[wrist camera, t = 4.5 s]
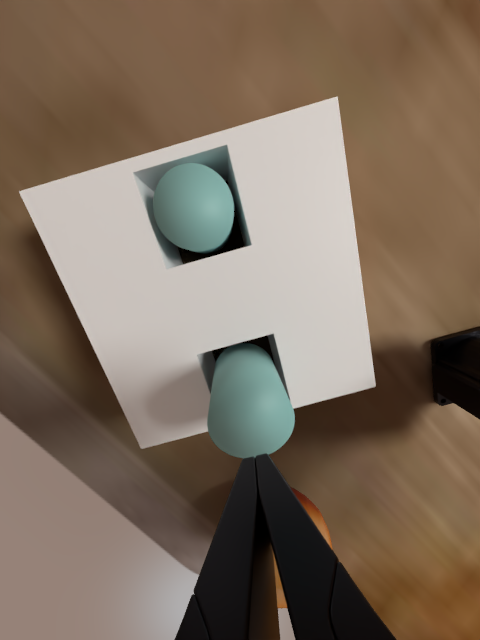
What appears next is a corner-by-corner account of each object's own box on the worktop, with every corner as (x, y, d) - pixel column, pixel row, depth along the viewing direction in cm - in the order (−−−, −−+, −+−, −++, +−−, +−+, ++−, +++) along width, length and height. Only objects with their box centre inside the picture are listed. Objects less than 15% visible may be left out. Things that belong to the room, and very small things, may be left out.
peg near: (266, 336, 15) (284, 372, 10) (279, 389, 16) (302, 446, 11) (206, 352, 15) (195, 396, 10) (223, 404, 16) (221, 467, 11)
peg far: (223, 185, 16) (221, 152, 11) (239, 245, 17) (243, 238, 12) (167, 202, 16) (140, 176, 11) (186, 260, 17) (169, 259, 12)
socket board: (303, 147, 16) (337, 96, 11) (339, 355, 20) (375, 386, 15) (82, 212, 16) (19, 191, 11) (162, 403, 20) (141, 449, 15)
